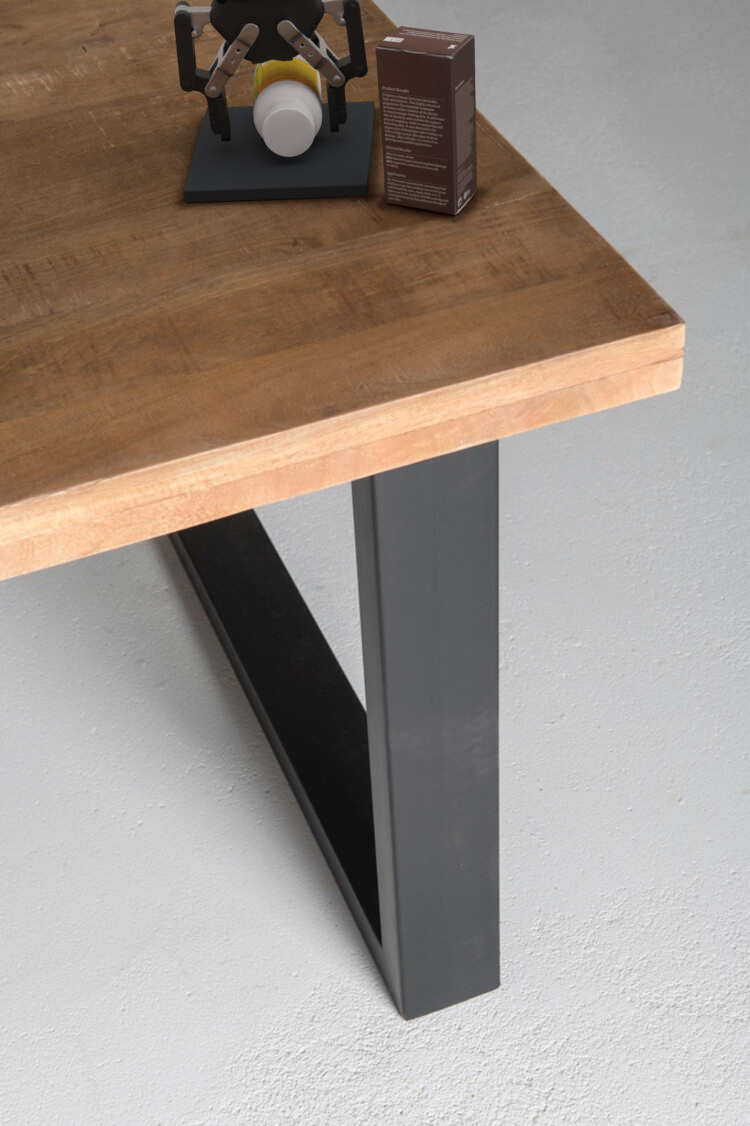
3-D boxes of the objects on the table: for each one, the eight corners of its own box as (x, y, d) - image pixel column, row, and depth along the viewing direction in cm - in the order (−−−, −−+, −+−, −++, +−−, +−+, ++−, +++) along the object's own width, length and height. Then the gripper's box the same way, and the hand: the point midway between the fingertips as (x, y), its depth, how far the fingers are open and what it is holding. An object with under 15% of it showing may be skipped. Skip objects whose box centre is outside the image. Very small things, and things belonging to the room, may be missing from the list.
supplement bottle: (244, 55, 113) (243, 109, 106) (309, 37, 112) (312, 91, 105) (265, 117, 116) (264, 173, 109) (327, 100, 116) (332, 155, 108)
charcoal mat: (185, 202, 108) (182, 191, 107) (208, 118, 118) (206, 107, 117) (367, 196, 107) (367, 184, 106) (375, 112, 117) (374, 100, 116)
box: (479, 189, 106) (477, 32, 98) (455, 218, 104) (451, 59, 95) (407, 176, 109) (399, 21, 100) (381, 204, 106) (371, 47, 98)
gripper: (153, -55, 97) (189, 163, 108) (359, -72, 97) (374, 147, 108) (158, -92, 103) (191, 118, 114) (354, -109, 103) (368, 103, 114)
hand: (280, 132), depth 111 cm, fingers open, 8 cm apart
